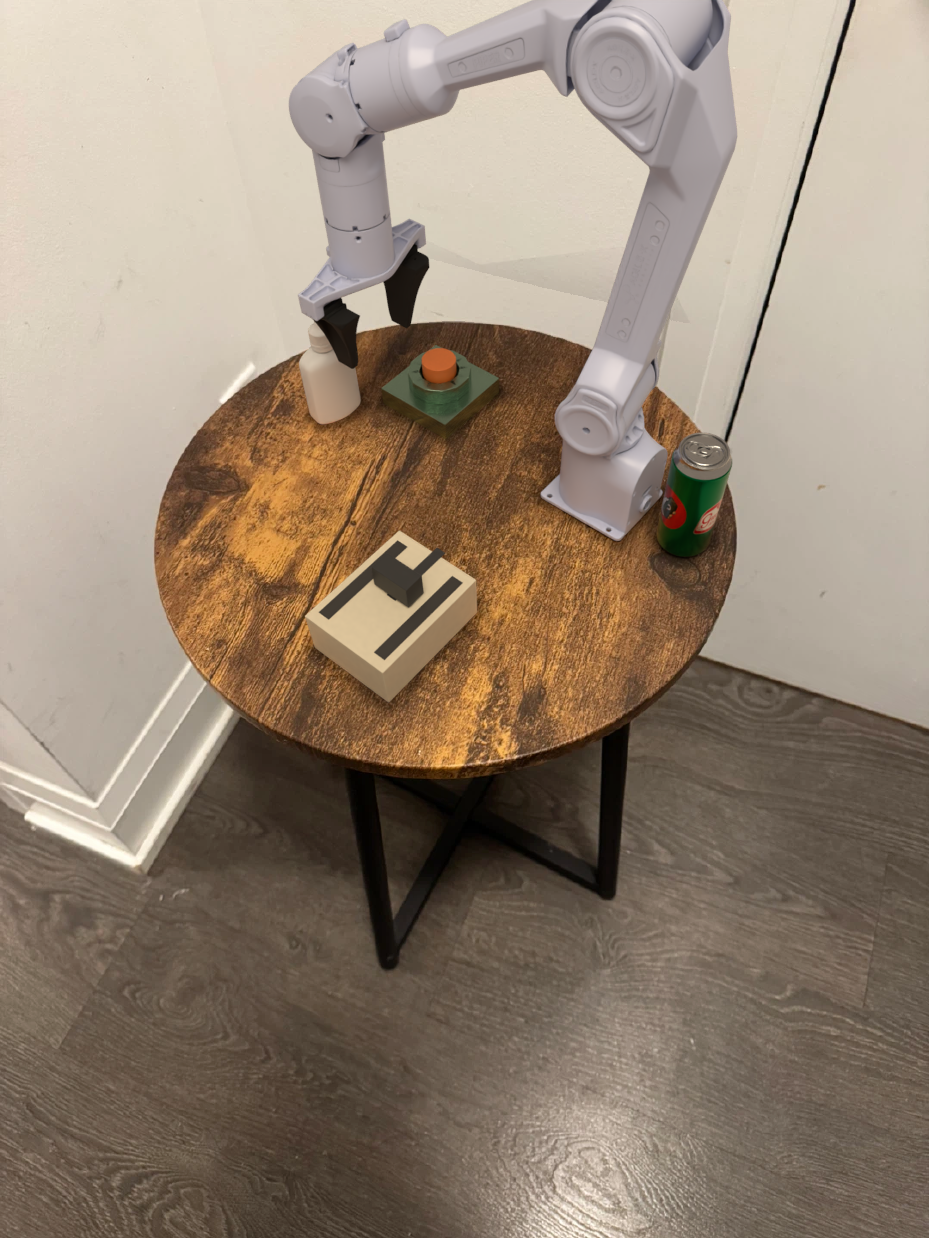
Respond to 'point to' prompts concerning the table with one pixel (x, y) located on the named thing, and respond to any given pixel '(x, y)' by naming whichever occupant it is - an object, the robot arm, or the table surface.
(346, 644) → the toaster
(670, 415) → the table surface
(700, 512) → the soda can
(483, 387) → the panel
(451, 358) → the button
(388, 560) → the block
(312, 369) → the eye dropper bottle
